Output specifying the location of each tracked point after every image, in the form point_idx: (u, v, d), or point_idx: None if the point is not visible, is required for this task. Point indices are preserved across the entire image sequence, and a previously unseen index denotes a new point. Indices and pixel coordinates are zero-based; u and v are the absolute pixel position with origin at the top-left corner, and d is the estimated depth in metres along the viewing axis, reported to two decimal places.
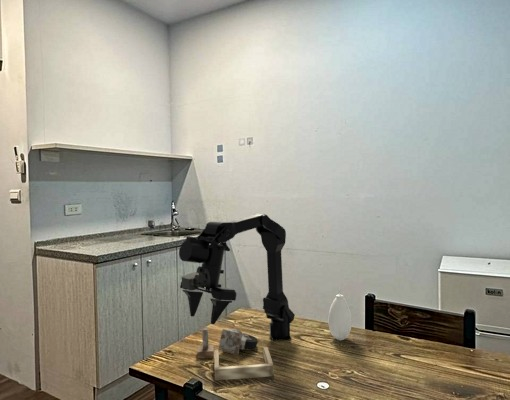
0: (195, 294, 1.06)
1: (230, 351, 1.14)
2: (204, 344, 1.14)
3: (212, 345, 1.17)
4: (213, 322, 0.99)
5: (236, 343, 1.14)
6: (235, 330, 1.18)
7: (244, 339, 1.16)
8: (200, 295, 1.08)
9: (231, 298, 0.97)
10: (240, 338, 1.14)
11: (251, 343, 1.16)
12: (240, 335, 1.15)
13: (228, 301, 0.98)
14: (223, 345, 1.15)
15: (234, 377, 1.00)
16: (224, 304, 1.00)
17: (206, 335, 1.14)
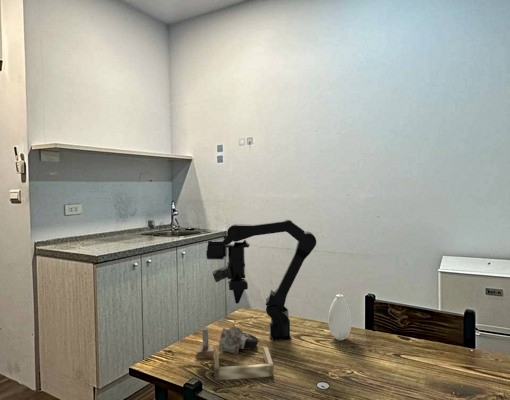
0: None
1: (230, 350, 1.15)
2: (204, 344, 1.14)
3: (212, 345, 1.17)
4: (237, 302, 1.28)
5: (236, 342, 1.15)
6: (235, 329, 1.19)
7: (244, 338, 1.17)
8: None
9: (241, 288, 1.19)
10: (240, 337, 1.15)
11: (251, 343, 1.16)
12: (240, 334, 1.15)
13: None
14: (223, 344, 1.16)
15: (234, 377, 1.00)
16: None
17: (206, 335, 1.14)
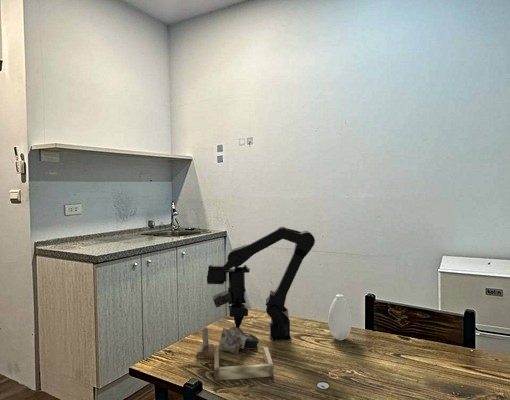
0: None
1: (230, 350, 1.15)
2: (204, 344, 1.14)
3: (212, 345, 1.17)
4: None
5: (236, 342, 1.15)
6: (236, 329, 1.19)
7: (244, 338, 1.17)
8: None
9: (241, 315, 1.19)
10: (240, 337, 1.15)
11: (251, 342, 1.16)
12: (240, 334, 1.15)
13: None
14: (223, 344, 1.16)
15: (234, 377, 1.00)
16: None
17: (206, 335, 1.14)
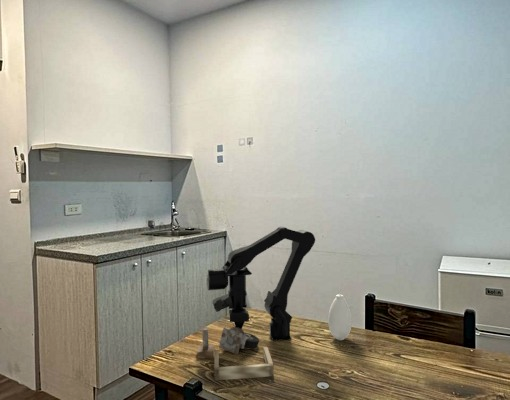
0: None
1: (230, 350, 1.15)
2: (204, 344, 1.14)
3: (212, 345, 1.17)
4: None
5: (236, 342, 1.15)
6: (236, 329, 1.19)
7: (244, 338, 1.17)
8: None
9: (242, 320, 1.14)
10: (240, 337, 1.15)
11: (251, 343, 1.16)
12: (240, 334, 1.15)
13: None
14: (223, 343, 1.16)
15: (234, 377, 1.00)
16: None
17: (206, 335, 1.14)
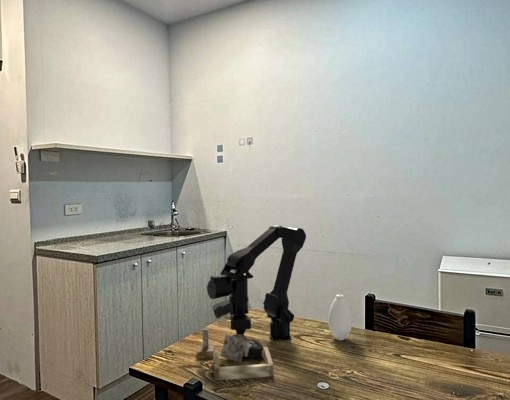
0: None
1: (233, 358, 1.10)
2: (204, 344, 1.14)
3: (212, 345, 1.17)
4: None
5: (239, 350, 1.09)
6: (239, 336, 1.13)
7: (248, 346, 1.11)
8: None
9: (244, 327, 1.08)
10: (243, 345, 1.09)
11: (255, 350, 1.10)
12: (243, 341, 1.09)
13: None
14: (226, 351, 1.10)
15: (234, 377, 1.00)
16: None
17: (206, 335, 1.14)
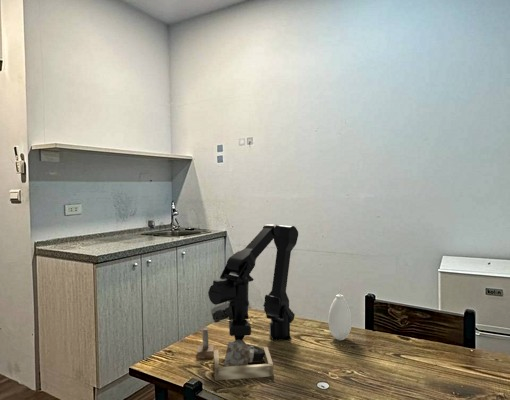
0: None
1: (238, 365, 1.05)
2: (204, 344, 1.14)
3: (212, 345, 1.17)
4: None
5: (244, 356, 1.05)
6: (240, 342, 1.09)
7: (251, 351, 1.07)
8: None
9: (243, 333, 1.03)
10: (248, 350, 1.05)
11: (259, 355, 1.07)
12: (248, 347, 1.05)
13: None
14: (230, 359, 1.05)
15: (234, 377, 1.00)
16: None
17: (206, 335, 1.14)
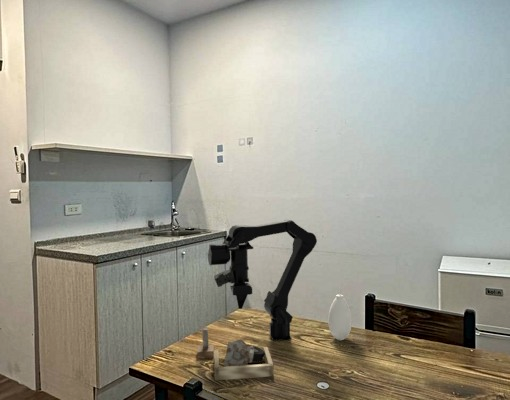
0: None
1: None
2: (204, 344, 1.14)
3: (212, 345, 1.17)
4: (240, 307, 1.22)
5: (244, 356, 1.05)
6: (240, 342, 1.09)
7: (251, 351, 1.07)
8: None
9: (245, 293, 1.13)
10: (248, 351, 1.05)
11: (259, 355, 1.07)
12: (248, 347, 1.06)
13: None
14: (229, 360, 1.05)
15: (234, 377, 1.00)
16: None
17: (206, 335, 1.14)
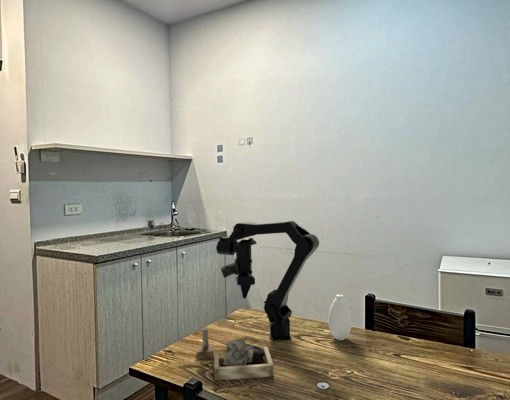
0: None
1: (237, 365, 1.05)
2: (204, 344, 1.14)
3: (212, 345, 1.17)
4: (244, 297, 1.33)
5: (243, 356, 1.06)
6: (240, 341, 1.09)
7: (251, 351, 1.08)
8: None
9: (248, 283, 1.24)
10: (247, 350, 1.06)
11: (259, 355, 1.08)
12: (247, 347, 1.06)
13: None
14: (229, 359, 1.06)
15: (234, 377, 1.00)
16: None
17: (206, 335, 1.14)
